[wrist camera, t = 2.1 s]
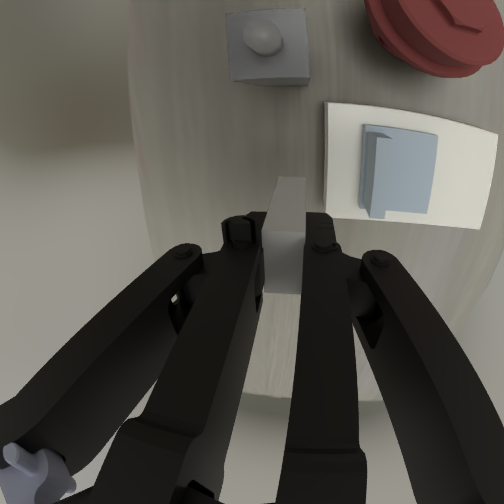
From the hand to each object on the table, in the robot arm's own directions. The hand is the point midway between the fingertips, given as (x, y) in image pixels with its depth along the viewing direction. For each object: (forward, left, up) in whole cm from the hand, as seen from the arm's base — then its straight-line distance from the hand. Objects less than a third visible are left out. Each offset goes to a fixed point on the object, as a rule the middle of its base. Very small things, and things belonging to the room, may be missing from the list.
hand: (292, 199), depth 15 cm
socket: (0, +11, -12) cm, 16 cm away
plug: (-9, -1, -12) cm, 15 cm away
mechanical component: (-14, +10, -12) cm, 21 cm away
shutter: (0, +9, -7) cm, 11 cm away
